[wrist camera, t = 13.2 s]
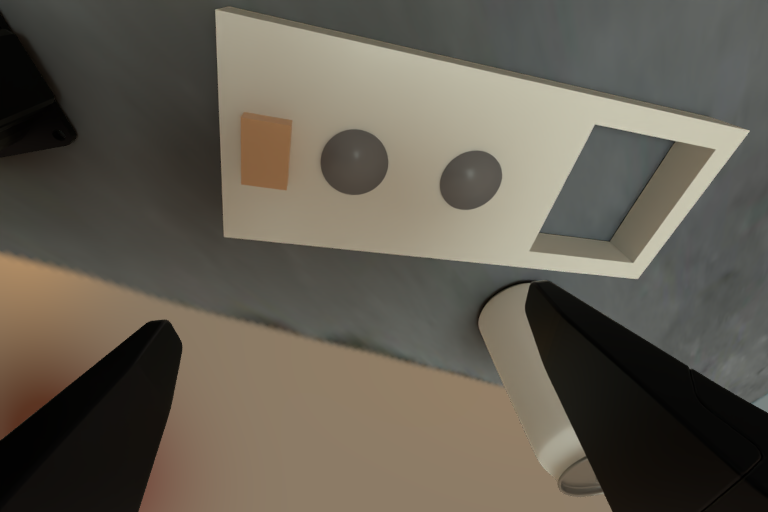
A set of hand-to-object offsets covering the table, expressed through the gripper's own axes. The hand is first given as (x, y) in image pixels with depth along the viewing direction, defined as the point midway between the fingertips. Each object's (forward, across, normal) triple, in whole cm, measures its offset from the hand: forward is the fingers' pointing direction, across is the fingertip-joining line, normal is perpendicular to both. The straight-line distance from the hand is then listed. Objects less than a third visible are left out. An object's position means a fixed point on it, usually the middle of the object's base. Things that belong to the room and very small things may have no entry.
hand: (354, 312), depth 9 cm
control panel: (+13, -7, +2) cm, 15 cm away
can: (+13, -12, +15) cm, 23 cm away
